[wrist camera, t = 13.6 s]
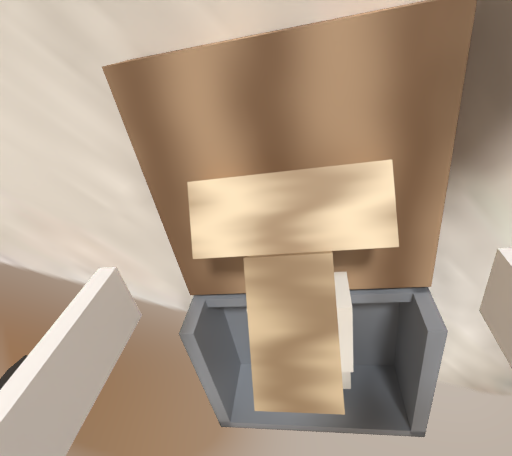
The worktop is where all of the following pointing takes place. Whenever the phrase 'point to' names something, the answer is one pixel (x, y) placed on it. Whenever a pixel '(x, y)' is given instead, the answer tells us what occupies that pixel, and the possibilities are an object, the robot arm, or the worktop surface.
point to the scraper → (294, 267)
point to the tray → (362, 378)
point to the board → (306, 124)
